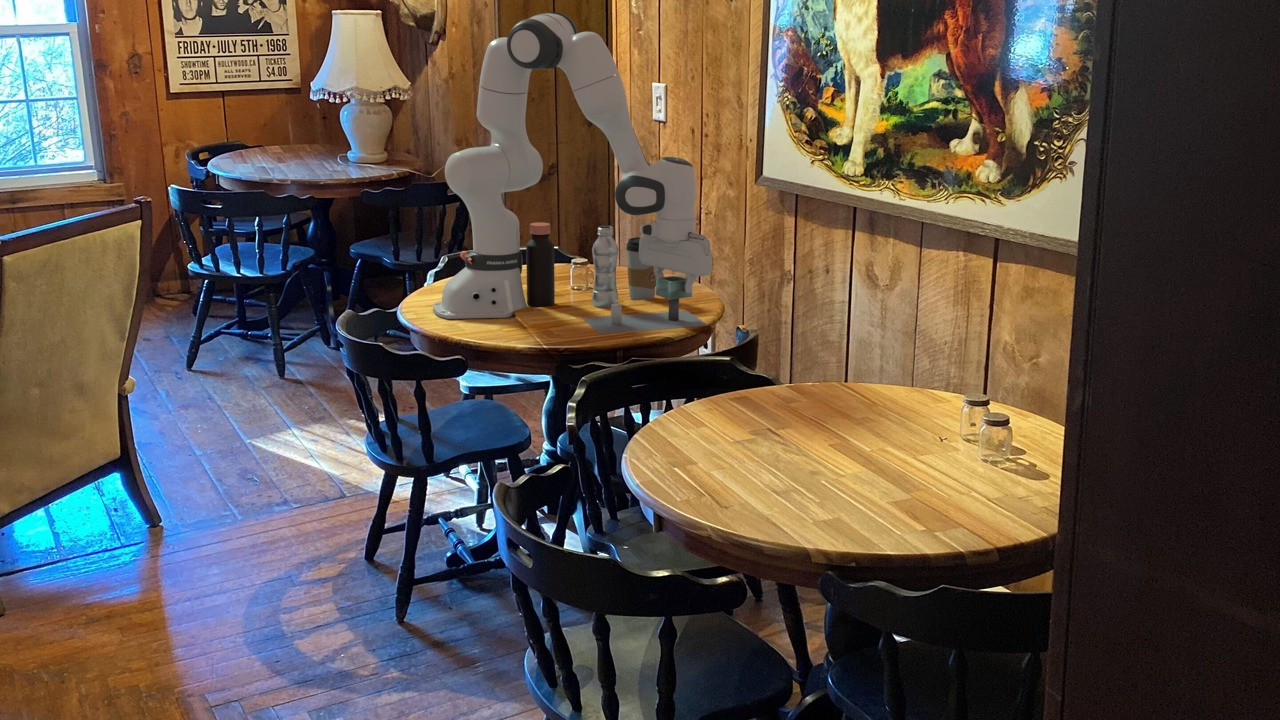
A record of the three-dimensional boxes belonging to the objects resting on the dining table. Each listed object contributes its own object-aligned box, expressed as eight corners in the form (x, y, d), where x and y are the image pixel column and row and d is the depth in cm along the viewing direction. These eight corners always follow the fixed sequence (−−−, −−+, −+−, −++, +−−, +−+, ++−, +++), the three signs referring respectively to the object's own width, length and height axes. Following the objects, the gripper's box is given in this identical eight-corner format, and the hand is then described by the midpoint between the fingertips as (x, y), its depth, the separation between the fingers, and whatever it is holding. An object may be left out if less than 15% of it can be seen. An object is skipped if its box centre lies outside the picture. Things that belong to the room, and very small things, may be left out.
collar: (670, 299, 268) (670, 282, 267) (656, 295, 273) (656, 278, 272) (692, 296, 271) (692, 279, 270) (677, 292, 276) (677, 275, 275)
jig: (600, 338, 262) (600, 309, 260) (582, 322, 274) (582, 295, 272) (708, 329, 270) (709, 301, 268) (686, 314, 282) (687, 288, 281)
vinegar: (548, 309, 286) (547, 227, 280) (522, 306, 288) (521, 225, 282) (558, 302, 292) (558, 222, 286) (533, 300, 294) (532, 220, 288)
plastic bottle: (619, 305, 290) (620, 225, 284) (616, 312, 283) (617, 230, 278) (593, 304, 290) (594, 224, 285) (589, 311, 284) (590, 229, 278)
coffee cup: (645, 304, 292) (646, 244, 287) (618, 299, 296) (619, 240, 292) (665, 298, 298) (666, 239, 294) (638, 293, 303) (639, 235, 298)
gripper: (719, 234, 263) (717, 294, 267) (653, 222, 277) (652, 279, 281) (700, 237, 259) (698, 299, 262) (634, 225, 272) (634, 283, 276)
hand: (674, 289), depth 272 cm, fingers closed on collar, 7 cm apart
